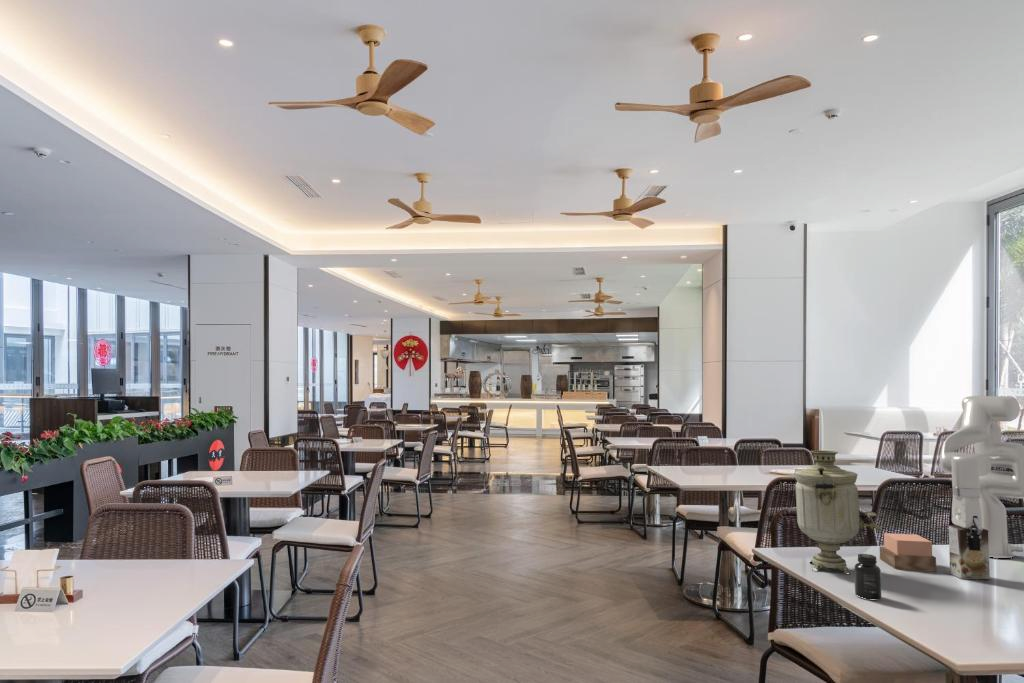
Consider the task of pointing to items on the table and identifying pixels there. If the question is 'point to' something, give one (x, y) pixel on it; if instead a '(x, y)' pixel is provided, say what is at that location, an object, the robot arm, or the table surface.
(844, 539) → the samovar
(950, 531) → the coffee box
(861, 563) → the supplement bottle
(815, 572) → the table surface
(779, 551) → the table surface
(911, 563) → the tower base block
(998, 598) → the table surface
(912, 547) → the tower top block
